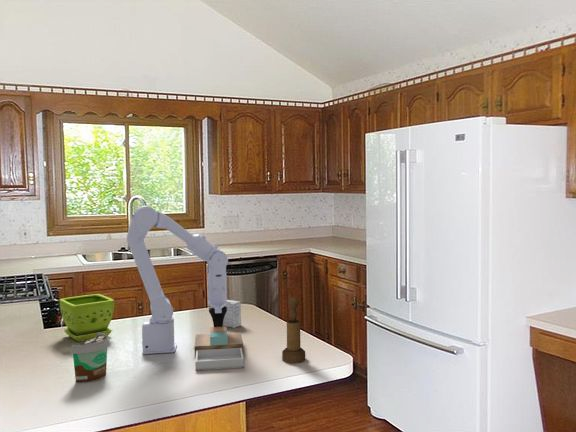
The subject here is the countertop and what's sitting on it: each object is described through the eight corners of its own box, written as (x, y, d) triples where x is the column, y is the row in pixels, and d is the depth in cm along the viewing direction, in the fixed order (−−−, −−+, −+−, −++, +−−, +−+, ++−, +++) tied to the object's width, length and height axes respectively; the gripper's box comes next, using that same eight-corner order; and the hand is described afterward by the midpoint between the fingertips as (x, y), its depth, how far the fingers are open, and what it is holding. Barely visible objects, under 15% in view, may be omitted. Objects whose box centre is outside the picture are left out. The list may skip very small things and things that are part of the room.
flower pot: (73, 345, 163) (72, 305, 163) (59, 336, 174) (57, 298, 173) (116, 336, 173) (115, 298, 172) (100, 328, 183) (99, 292, 182)
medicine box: (241, 325, 185) (241, 301, 184) (233, 328, 181) (233, 303, 181) (224, 322, 189) (224, 299, 189) (216, 325, 185) (215, 301, 185)
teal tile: (210, 345, 150) (210, 337, 150) (210, 340, 155) (210, 332, 155) (227, 344, 151) (227, 336, 151) (227, 339, 156) (226, 331, 156)
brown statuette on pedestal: (288, 364, 144) (288, 300, 143) (278, 358, 149) (277, 296, 148) (309, 360, 147) (309, 297, 146) (298, 354, 152) (297, 293, 151)
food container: (94, 386, 130) (93, 346, 129) (72, 384, 131) (70, 345, 130) (119, 369, 142) (118, 333, 141) (99, 367, 143) (98, 331, 142)
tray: (195, 370, 140) (195, 361, 140) (196, 358, 149) (196, 350, 149) (243, 367, 142) (243, 358, 142) (241, 356, 151) (241, 347, 151)
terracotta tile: (210, 339, 156) (210, 331, 156) (210, 335, 161) (210, 327, 161) (227, 339, 157) (226, 330, 156) (226, 334, 161) (226, 326, 161)
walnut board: (194, 358, 150) (194, 346, 150) (195, 345, 162) (195, 334, 162) (243, 355, 152) (243, 343, 152) (241, 343, 164) (240, 332, 164)
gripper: (231, 291, 156) (232, 336, 157) (229, 283, 170) (230, 323, 171) (207, 292, 155) (208, 337, 156) (207, 283, 169) (208, 324, 170)
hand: (218, 330), depth 163 cm, fingers closed
